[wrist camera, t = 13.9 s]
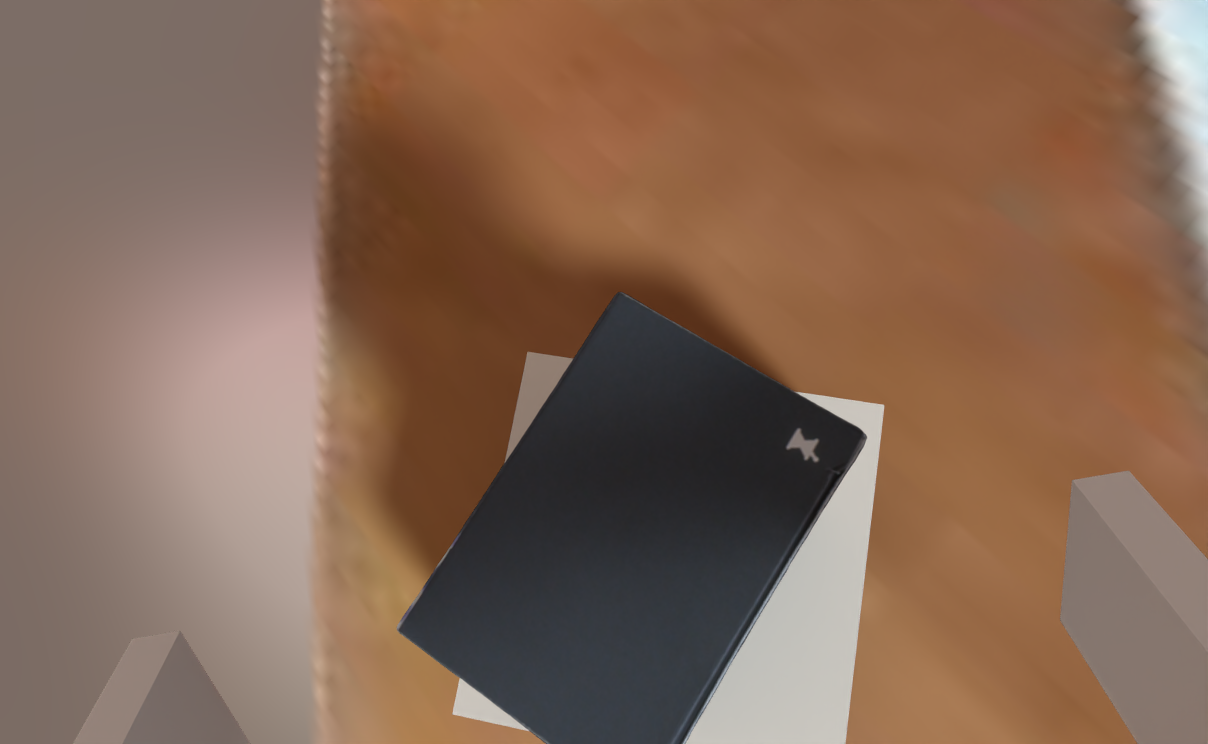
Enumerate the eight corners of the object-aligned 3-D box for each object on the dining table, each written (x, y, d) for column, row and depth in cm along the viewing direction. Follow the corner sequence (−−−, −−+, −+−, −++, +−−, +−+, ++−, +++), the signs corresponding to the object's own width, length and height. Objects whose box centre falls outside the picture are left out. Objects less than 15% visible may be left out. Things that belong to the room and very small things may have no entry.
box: (654, 395, 27) (619, 278, 17) (817, 494, 26) (884, 433, 16) (511, 615, 26) (382, 632, 16) (673, 731, 25) (646, 829, 15)
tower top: (552, 383, 32) (527, 351, 28) (860, 431, 31) (884, 405, 26) (490, 696, 30) (452, 714, 26) (819, 767, 28) (838, 799, 24)
